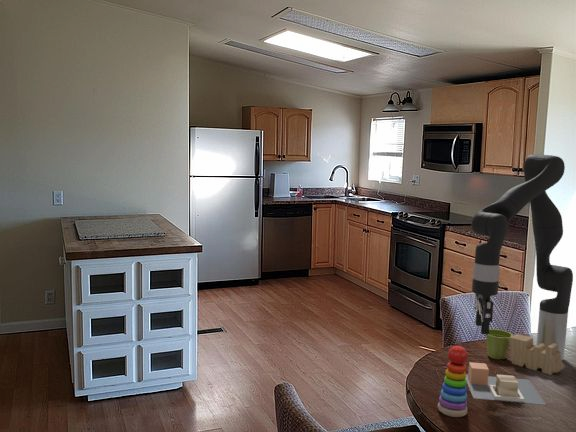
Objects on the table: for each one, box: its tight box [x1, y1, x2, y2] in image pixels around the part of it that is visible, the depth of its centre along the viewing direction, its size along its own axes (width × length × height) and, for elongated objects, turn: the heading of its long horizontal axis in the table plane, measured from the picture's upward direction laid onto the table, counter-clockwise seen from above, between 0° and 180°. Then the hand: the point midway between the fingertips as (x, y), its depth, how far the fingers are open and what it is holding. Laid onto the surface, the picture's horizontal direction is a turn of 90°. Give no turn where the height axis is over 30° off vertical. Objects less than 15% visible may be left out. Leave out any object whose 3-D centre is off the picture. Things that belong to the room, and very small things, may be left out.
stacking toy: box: [437, 345, 468, 418], centre depth 153 cm, size 8×8×19 cm
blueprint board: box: [465, 373, 547, 406], centre depth 168 cm, size 18×20×2 cm
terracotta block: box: [467, 361, 490, 385], centre depth 173 cm, size 5×5×5 cm
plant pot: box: [485, 328, 514, 360], centre depth 198 cm, size 9×9×9 cm
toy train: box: [508, 333, 566, 376], centre depth 186 cm, size 6×17×10 cm, turn 44°
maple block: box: [495, 374, 518, 397], centre depth 163 cm, size 5×5×5 cm
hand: (481, 329), depth 171 cm, fingers open, 8 cm apart
